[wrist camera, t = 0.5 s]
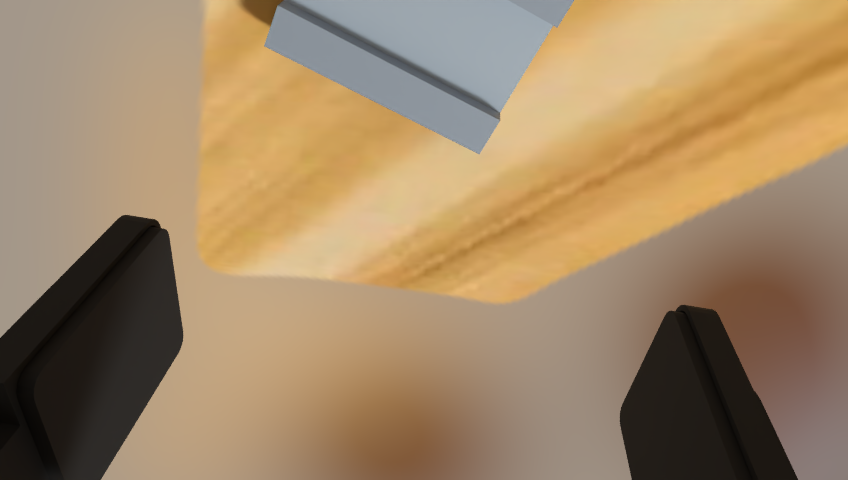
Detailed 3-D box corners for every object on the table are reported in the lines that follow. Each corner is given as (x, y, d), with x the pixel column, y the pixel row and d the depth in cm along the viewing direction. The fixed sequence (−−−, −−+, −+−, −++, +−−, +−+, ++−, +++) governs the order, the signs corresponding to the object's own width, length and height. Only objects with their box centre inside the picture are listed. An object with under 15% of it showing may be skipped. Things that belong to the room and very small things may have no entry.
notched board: (343, -164, 30) (332, -163, 28) (579, -26, 32) (584, -17, 30) (276, 34, 36) (264, 46, 34) (480, 137, 38) (479, 154, 36)
